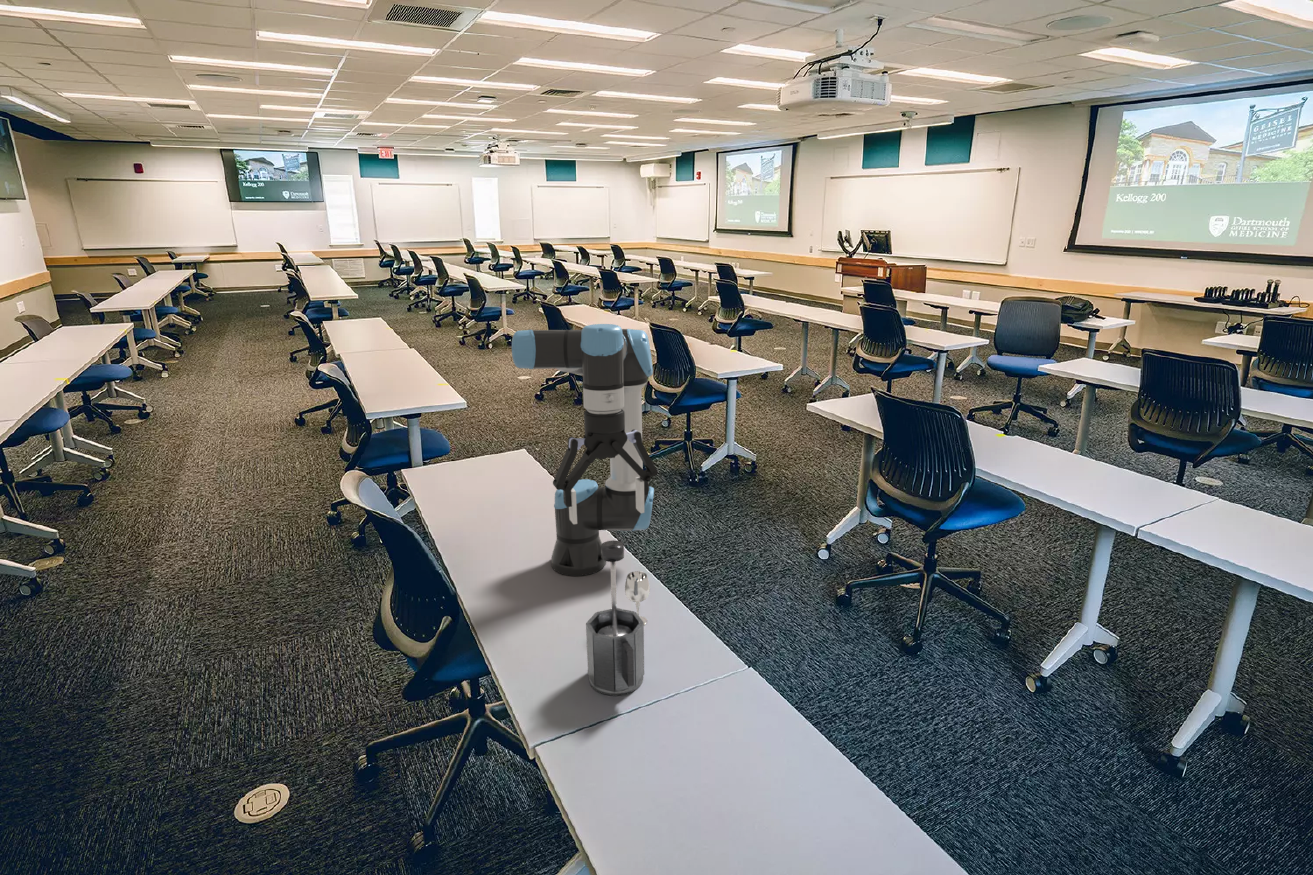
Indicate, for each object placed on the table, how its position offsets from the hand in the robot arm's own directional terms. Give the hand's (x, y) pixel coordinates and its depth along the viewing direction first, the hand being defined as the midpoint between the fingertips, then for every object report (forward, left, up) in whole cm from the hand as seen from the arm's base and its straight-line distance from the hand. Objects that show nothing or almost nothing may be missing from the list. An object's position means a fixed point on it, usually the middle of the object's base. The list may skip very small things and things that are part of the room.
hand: (607, 516), depth 133 cm
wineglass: (-16, +12, -36) cm, 41 cm away
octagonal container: (+3, 0, -36) cm, 36 cm away
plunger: (+2, 0, -26) cm, 26 cm away
